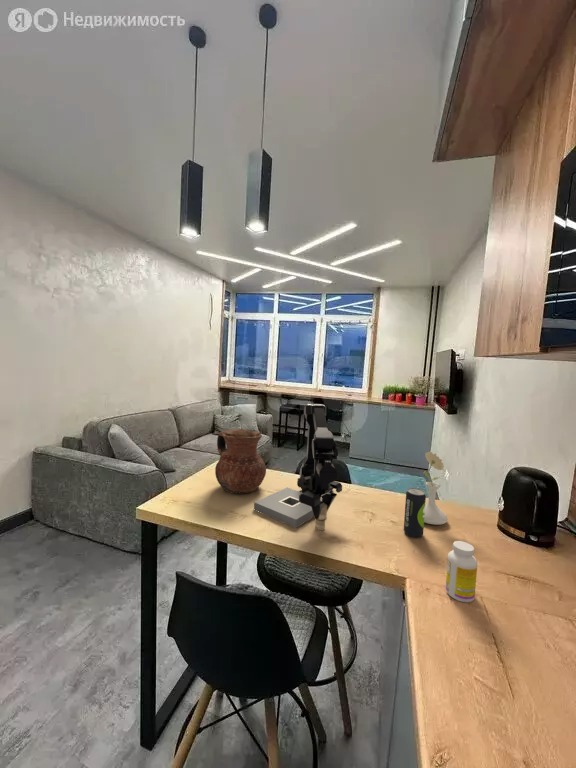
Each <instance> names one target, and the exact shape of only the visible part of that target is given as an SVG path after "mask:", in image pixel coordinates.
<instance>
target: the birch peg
mask: <svg viewBox="0 0 576 768" xmlns="http://www.w3.org/2000/svg"><path fill="white" fill-rule="evenodd" d="M327 513H328V511H327V505H326V504H325V503H324V504H323V507H322V509H321V512H320V515H319V518H318V519H315V517H313V518H314V520H315V521H314V528H315V530H319V531H322V530H325V529H326V520H327V516H328V515H327Z"/></svg>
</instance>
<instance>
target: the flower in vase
mask: <svg viewBox="0 0 576 768" xmlns="http://www.w3.org/2000/svg"><path fill="white" fill-rule="evenodd" d="M424 455H425V459H426V461H427V462H428V463H429V465H430V466H429V469H428V472H427V471H426V470H424V471H423V472H422V474H423V475H425V476H426V477H427V478H429V480H430V481H426V482H425V485H426V487H427V491H428V500H427V503H426V502H425V515H424V524H425V523H426V524H429V525H436V526H437V525H444V524H446V523H447V522H448V516H447V514H446V513H445V512H444V511H443V510H442V509H440V508H441V507H438V505H437V504H436V495H437V491H438V490H439V488H440V487H441V484H440V483H438V482H434V481H435V480H438V479H439V477H437V476H436V477H433V478H432V479H431V475H430V472H431V471H430V470H431V468H432V467H433V468H434V469H436V470H437V471H443V470H444V463H443V462H442V461H443V460H442V458H440V457H439V456H437V454H436V453H433V452H432V451H428V452H427V451H426V452H425V454H424Z"/></svg>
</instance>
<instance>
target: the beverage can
mask: <svg viewBox="0 0 576 768" xmlns="http://www.w3.org/2000/svg"><path fill="white" fill-rule="evenodd" d="M426 500H427V496H426V491H425V490H423V489H421V488H417V487H409V488H407V490H406V492H405V504H404V505H405V507H404V521H403V531H404V534H406V535H407V536H408V537H410V538H413V539H415V538H416V539H419V538H421V537H422V536H423V535H424V527H425V522H424V515H425V504H426Z"/></svg>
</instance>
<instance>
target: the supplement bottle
mask: <svg viewBox="0 0 576 768" xmlns="http://www.w3.org/2000/svg"><path fill="white" fill-rule="evenodd" d="M474 552H475V547H474V546H473V545H472V544H470V543H468V542H465V541H463V540H455V541H454V542H453V543H452V550H450V551H449V552H448V554H447V566H446V575H445V576H446V579H445V591H446V593H447V594H448V596H450V597H451V598H452V599H455V600H456V601H457V602H458V601H459V602H461V603H462V602H463V603H470V602H473V601H474V600H475V598H476V587H477V571H478V561H477V558H476V557H475V556H474Z"/></svg>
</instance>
